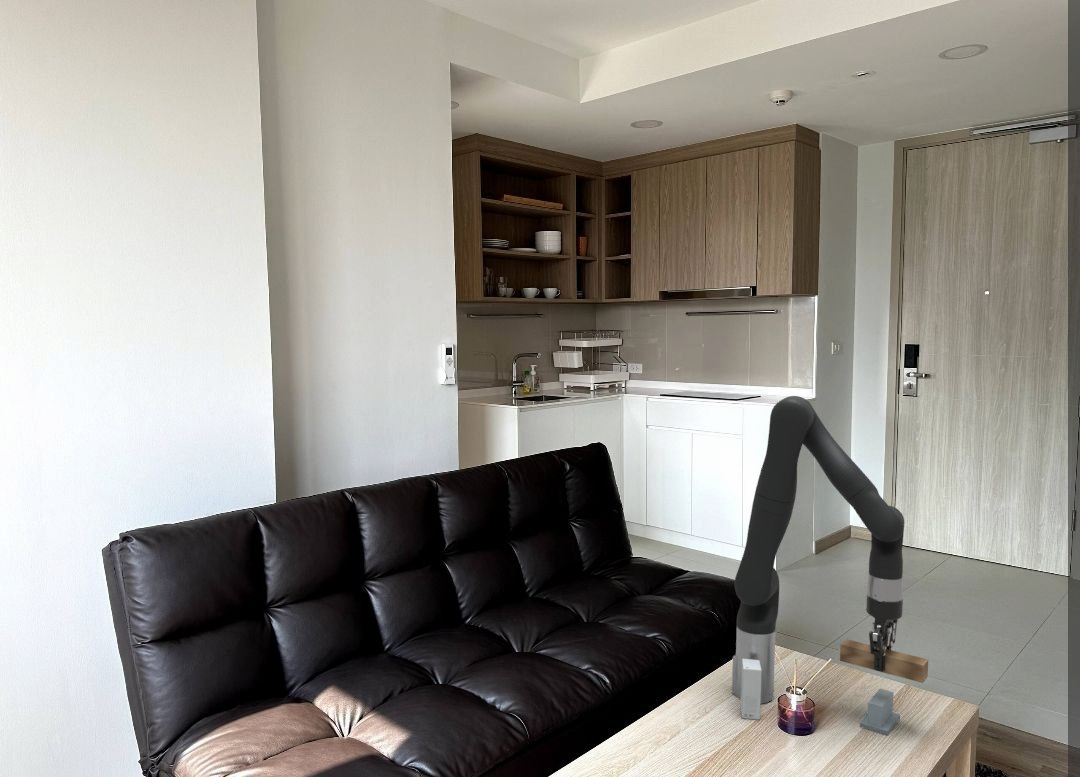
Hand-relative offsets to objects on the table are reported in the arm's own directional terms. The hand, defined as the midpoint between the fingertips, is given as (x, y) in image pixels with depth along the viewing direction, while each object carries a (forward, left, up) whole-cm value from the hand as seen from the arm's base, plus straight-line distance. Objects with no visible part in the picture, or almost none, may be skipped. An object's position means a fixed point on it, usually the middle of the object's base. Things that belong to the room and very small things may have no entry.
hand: (882, 667), depth 178 cm
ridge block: (0, 0, -13) cm, 13 cm away
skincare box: (-25, -15, -14) cm, 32 cm away
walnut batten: (0, 0, 0) cm, 0 cm away
